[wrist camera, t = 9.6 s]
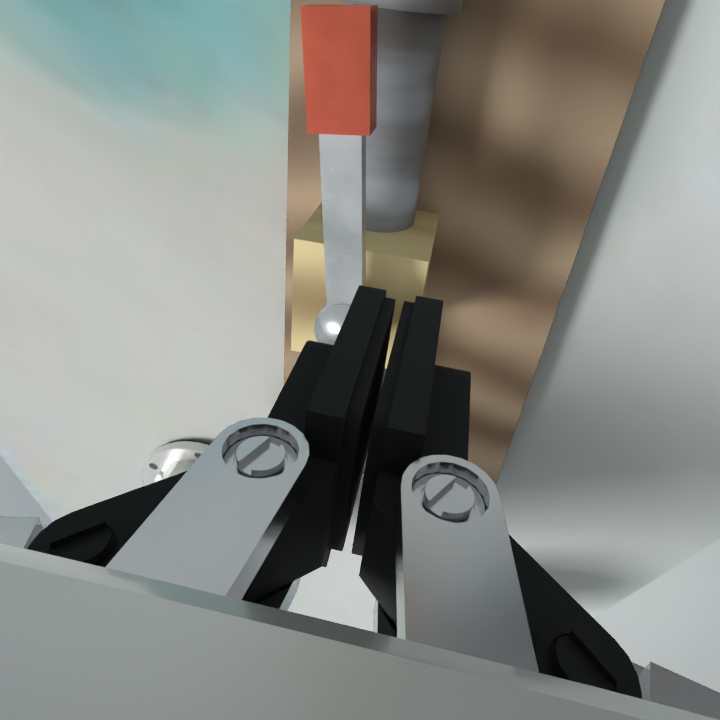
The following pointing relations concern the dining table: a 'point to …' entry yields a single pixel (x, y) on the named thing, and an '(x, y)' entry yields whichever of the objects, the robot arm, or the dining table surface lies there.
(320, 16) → the valve lever
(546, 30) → the pipe board
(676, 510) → the dining table surface
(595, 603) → the dining table surface
